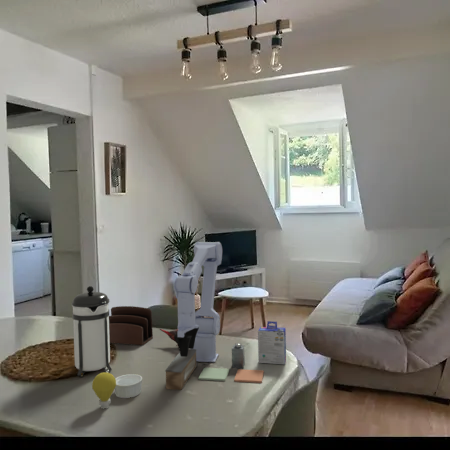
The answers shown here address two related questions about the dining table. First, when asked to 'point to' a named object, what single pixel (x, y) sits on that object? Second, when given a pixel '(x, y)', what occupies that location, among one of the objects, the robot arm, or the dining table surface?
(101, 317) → the coffee press
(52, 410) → the dining table surface
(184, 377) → the block
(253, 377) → the terracotta mat
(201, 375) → the sage mat
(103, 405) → the light bulb
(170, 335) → the decorative bird figurine
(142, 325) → the letter holder
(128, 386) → the ramekin
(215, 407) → the dining table surface
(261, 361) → the ink cartridge box
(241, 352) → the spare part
